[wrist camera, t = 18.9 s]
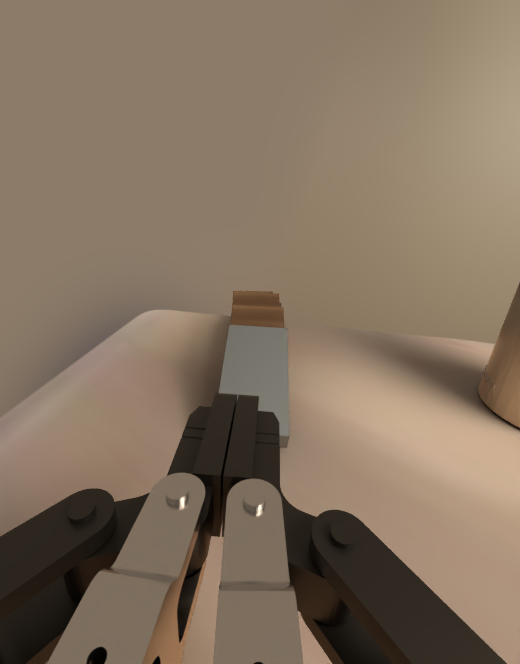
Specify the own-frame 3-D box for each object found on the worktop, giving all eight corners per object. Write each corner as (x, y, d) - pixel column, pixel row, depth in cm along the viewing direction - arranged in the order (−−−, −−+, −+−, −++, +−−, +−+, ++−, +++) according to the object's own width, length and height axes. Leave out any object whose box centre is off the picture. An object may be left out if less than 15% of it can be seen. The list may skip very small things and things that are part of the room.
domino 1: (282, 364, 30) (278, 293, 37) (227, 362, 30) (233, 291, 37) (281, 375, 31) (277, 304, 38) (227, 373, 31) (233, 302, 38)
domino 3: (289, 436, 22) (287, 328, 29) (212, 431, 22) (229, 324, 29) (286, 447, 23) (285, 341, 30) (213, 442, 23) (229, 337, 30)
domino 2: (286, 392, 26) (283, 307, 33) (222, 389, 26) (232, 304, 33) (284, 404, 27) (281, 319, 34) (223, 401, 27) (232, 316, 34)
